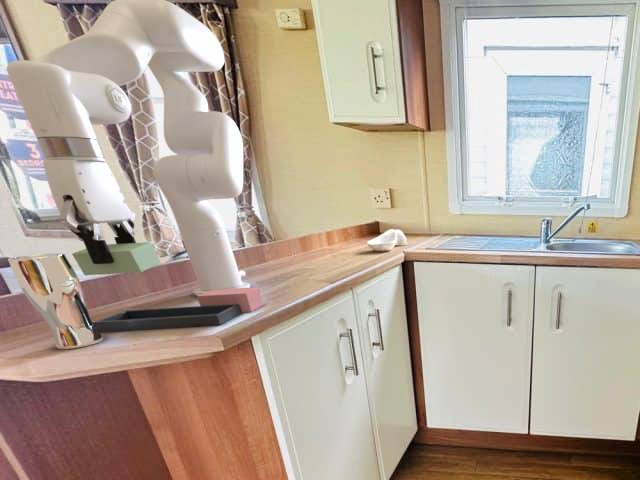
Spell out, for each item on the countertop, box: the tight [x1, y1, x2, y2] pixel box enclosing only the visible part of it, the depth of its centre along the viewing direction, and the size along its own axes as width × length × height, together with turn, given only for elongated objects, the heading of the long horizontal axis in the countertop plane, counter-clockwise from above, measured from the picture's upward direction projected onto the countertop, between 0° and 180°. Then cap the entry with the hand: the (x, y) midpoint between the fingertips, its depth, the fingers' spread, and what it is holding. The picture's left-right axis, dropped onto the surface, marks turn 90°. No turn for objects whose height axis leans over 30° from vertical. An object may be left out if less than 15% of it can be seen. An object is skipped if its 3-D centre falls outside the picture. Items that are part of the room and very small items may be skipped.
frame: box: [92, 304, 243, 333], centre depth 85 cm, size 9×23×2 cm, turn 95°
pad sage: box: [71, 241, 162, 276], centre depth 79 cm, size 6×10×4 cm, turn 96°
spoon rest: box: [366, 229, 408, 253], centre depth 177 cm, size 24×12×7 cm, turn 168°
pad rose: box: [196, 286, 264, 313], centre depth 92 cm, size 6×10×4 cm, turn 95°
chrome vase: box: [7, 252, 104, 350], centre depth 71 cm, size 7×7×15 cm
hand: (118, 259), depth 79 cm, fingers closed on pad sage, 6 cm apart
